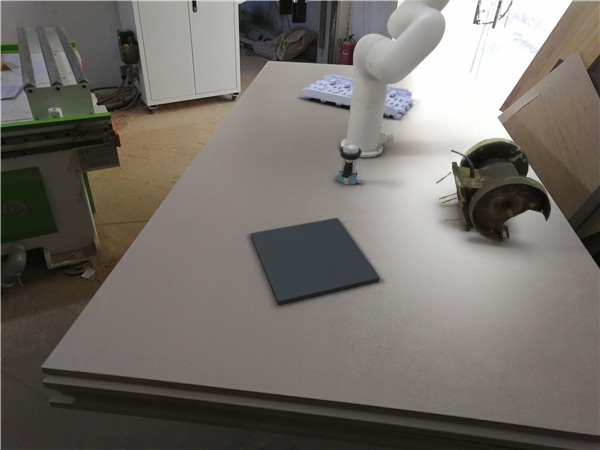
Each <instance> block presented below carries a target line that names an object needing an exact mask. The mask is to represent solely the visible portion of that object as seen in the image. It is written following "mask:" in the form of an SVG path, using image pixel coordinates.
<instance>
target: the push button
mask: <svg viewBox="0 0 600 450" xmlns="http://www.w3.org/2000/svg"><path fill="white" fill-rule="evenodd" d="M360 154H361V149H359V148H358V146H357V145H355V144H345V145H344V146H343V147H341V146H340V148H339V156H340V157H341V159H342V160H341V168H339V171H338V173H337V182H338V183H343V184H344V185H355V184H356V183H357V184H358V183H359V184H362V183H363V180H364V178H363V177H359V176H358V171H357V170H356V167H357V161H358V159H360V158H361V157H360Z"/></svg>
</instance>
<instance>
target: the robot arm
mask: <svg viewBox="0 0 600 450" xmlns="http://www.w3.org/2000/svg"><path fill="white" fill-rule="evenodd" d="M450 2H451V0H403V2H401V4H399V5H398V7H396V8H395V10H394V11H393V12H392V13H391V14H390V16H389V18H388V20H387V24H386V29H387V32H388V33H387V34H389V35H390V37H391V38H392V39H391V38H390V37H387V36H385V35H382V34H380V33H368V34H365V35H364V36H362V37H361V38H360V39H359V40H358V41H357V43H356V44H355V47H354V50H353V55H352V66H353V67H352V68H353V79H354V80H353V91H352V99H351V106H350V107H349V116H348V124H347V132H346V133H347V134H346V138H343V139H342V141H341V142H340V148H341V147H343V146H344V145H345V144H355V145H357V146H358V148H359V149H361V154H360V157H359V158H375V157H378V156H379V155H381V154H382V153H383V151H384V145H383V144H385V143H390V142H393V141H394V140H395V137H394V135H393V134H386V132H381V131H382V127H383V126H382V125H383V119H384V115H385V113H384V108H385V102H386V98H387V90H388V86H389V85H394V84H397V83H400V82H402V81H403V80H404V79H405V78H407V77H408V76H410V74H411V73H412V72H413V71H415V69H416V68H417V67H418V66H419V65H420V64H421V63H423V61H424V60H426V58H428V57H429V56H430V54H431V53H433V51H435V49H437V47H438V46H439V44H440V43H441V41H442V39H443V37H444V35H445V31H446V19H445V17H444V16H445V15H444V14H442V11H443V10H444V9H445V7H446V6H447V5H448V4H449V3H450ZM307 7H308V0H278V14H279V15H280V16H291V23H292V24H305V23H306V22H307V10H308V9H307Z"/></svg>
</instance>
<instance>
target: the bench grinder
mask: <svg viewBox="0 0 600 450" xmlns="http://www.w3.org/2000/svg"><path fill="white" fill-rule="evenodd" d="M450 152H451V153H455V154H457V155H459V156H462V157H461V160H460V163H459V165H458V161H451V170H452V171H450V172H449V173H448V174H446V175H445V176H444V177H442V178H440V179H438V180H437V181H436V185H437V184H439V183H440V182H442V181H443V180H444V179H445V178H447V177H448V176H449V175H451V174H452V175H453V177H454V183H455V184H454V185H455V188H456V189H455V190H456V192H455V193H452V194H448V195H445V196H441V197H438V200H444V199H446V198H448V197H451V196H455V195H456V197H454V198H450V199H446V200H444V201H441V204H445V203H448V202H451V201H453V200H456V199H457V201H458V205H459V209H460V214H461V218H444V221H448V222H452V221H462V223H463V226H464V230H465V231H468V230H471V224H472V226H473V229H474V230H475V231H476V232H477V233H478V234H479V235H481V236H482V237H484V238H485V239H487V240H491V241H495V242H500V243H501V242H503V240H509V239H510V231H509V226H507V225H505V223H507V222H508V221H509V220H510V219H512V218H515V217H517V216H519V215H522V214H523V213H526V212H527V211H533V212H536V213H541V214H542V215H543V218H544V220H545V222H548V220H549V219H550V215H551V211H552V203H551V200H550V198H549V194H548V191H547V190H546V187H545V186H543V184H542V183H540V181H538V180H536V179H535V178H532V177H530V176H528V173H529V169H530V163H529V158H528V156H527V155H526V153H525V151H524V150H523V148H521V146H520V145H519V144H518V143H516V142H515V141H513V140H511V139H507V138H504V137H492V138H485V139H484V140H481V141H479V142H477V143H475V144H474V145H472V146H471V147H470V148H469V149H467V150H466V151H465V153H461V152H459V151H456V150H454V149H451V150H450ZM504 231H505V236H506V237H505V236H504Z"/></svg>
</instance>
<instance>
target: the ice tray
mask: <svg viewBox="0 0 600 450" xmlns="http://www.w3.org/2000/svg"><path fill="white" fill-rule="evenodd" d="M353 80H354V78H351V77H347V76H341V75H336V74H332V73H330V74H326V75H324V77H323V79H321V80H320V79H317V80H315V81H314V83H311V84H309V85H308V86H305V87H304V88H302V89H301V91H300V92H301V93H300V94H299V98H300V99H304V100H305V99H308V100H310V99H313V98H314V99H317V100H320V101H321V103H322V102H323V103H326V102H331V103H335V104H336V106H339V107H340V106H341V105H345V106H350V107H351V99H352V91H353ZM412 95H413V92H412V91H410V90H409V89H408V88H403V87H398V86H393V85H388V90H387V98H386V102H385V108H384V117H386V116H387V117H389V116H392V119H395V120H398V121H400V120H401V119H402V117H403V116H405V114H406V112H407V111H409V109H410V107H412V106H413V104H414V100H413V98H412Z"/></svg>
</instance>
